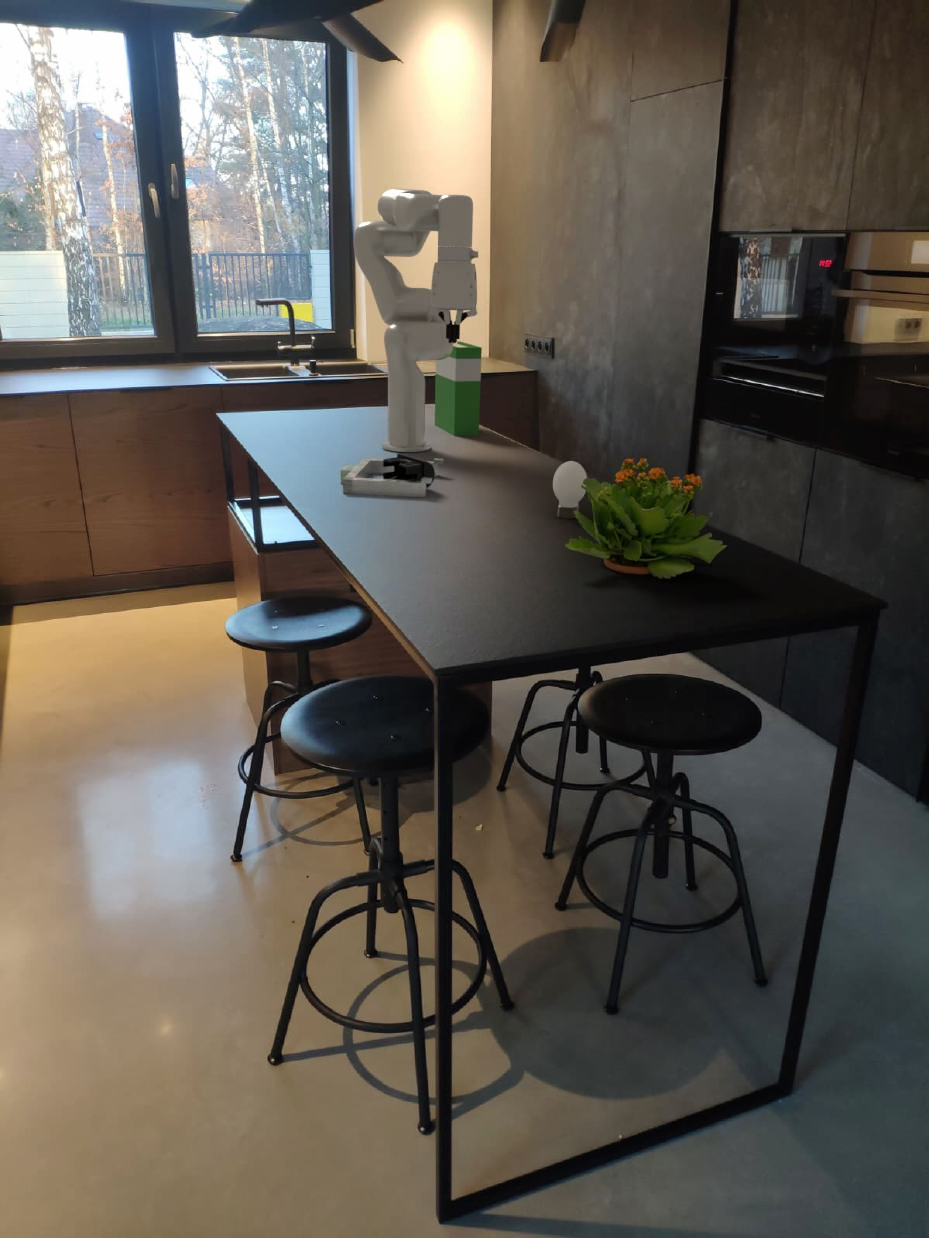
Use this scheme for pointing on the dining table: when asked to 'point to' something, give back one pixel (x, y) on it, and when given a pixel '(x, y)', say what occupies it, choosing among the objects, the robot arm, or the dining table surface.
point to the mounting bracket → (382, 480)
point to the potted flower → (644, 523)
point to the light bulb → (569, 488)
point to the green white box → (458, 390)
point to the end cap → (408, 469)
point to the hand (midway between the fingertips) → (452, 342)
